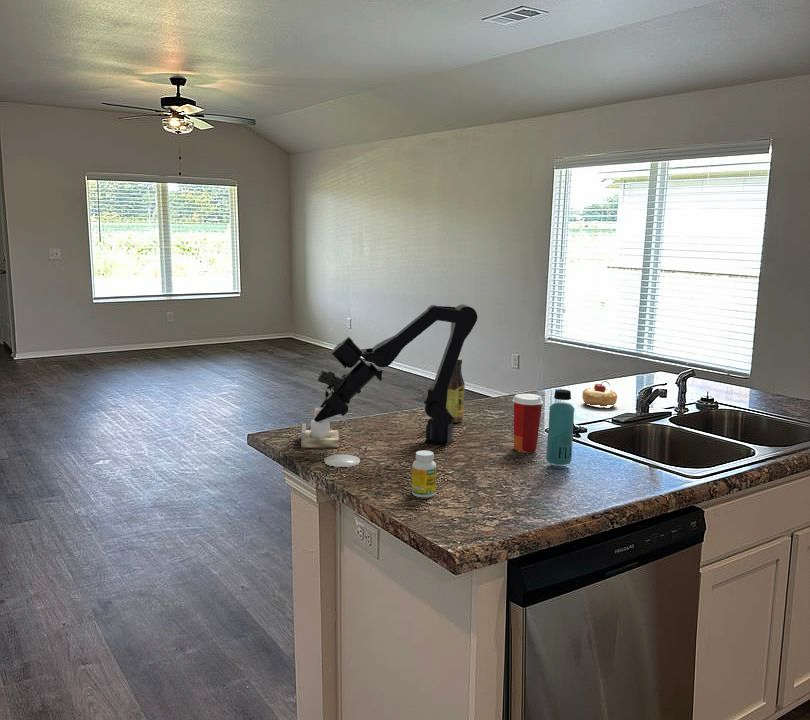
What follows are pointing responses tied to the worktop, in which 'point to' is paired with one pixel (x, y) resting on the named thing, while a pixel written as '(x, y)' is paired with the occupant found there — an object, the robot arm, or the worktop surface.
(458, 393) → the sauce bottle
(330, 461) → the coaster
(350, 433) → the worktop surface
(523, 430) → the coffee cup
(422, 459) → the supplement bottle
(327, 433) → the pepper shaker
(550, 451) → the beverage bottle
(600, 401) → the pastry
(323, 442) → the square wooden frame
